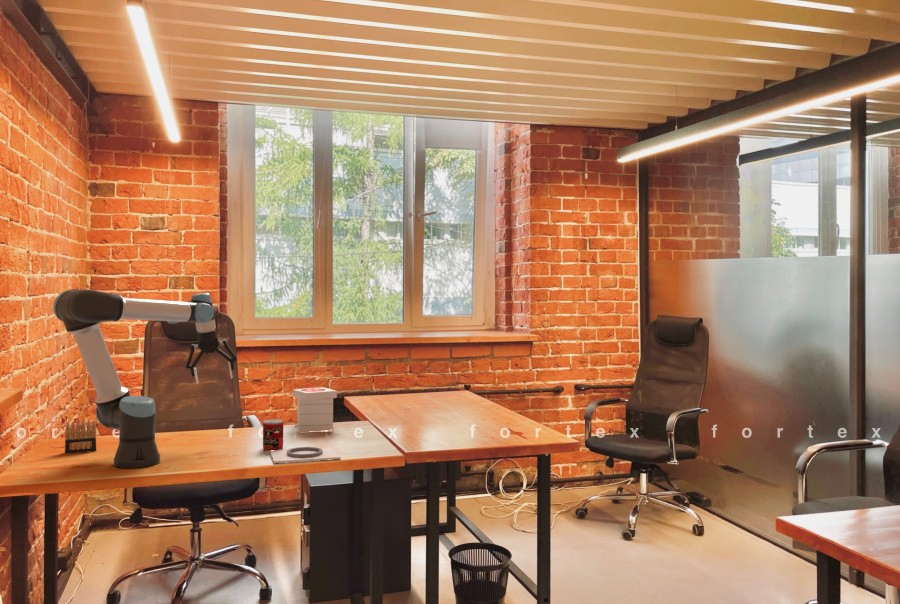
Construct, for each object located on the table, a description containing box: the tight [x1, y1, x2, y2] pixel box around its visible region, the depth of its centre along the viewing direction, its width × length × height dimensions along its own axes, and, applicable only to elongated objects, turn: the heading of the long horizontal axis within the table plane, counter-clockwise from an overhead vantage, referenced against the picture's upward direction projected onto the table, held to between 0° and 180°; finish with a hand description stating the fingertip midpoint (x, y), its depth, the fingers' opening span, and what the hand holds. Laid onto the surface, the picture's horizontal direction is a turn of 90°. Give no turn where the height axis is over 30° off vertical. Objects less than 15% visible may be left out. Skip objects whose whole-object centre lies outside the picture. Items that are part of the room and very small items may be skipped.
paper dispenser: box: [292, 387, 338, 433], centre depth 317 cm, size 19×30×18 cm, turn 14°
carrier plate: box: [269, 446, 342, 465], centre depth 258 cm, size 24×18×2 cm
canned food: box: [262, 418, 284, 451], centre depth 271 cm, size 8×8×11 cm
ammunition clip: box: [64, 419, 97, 454], centre depth 262 cm, size 11×2×12 cm, turn 118°
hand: (214, 380), depth 284 cm, fingers open, 13 cm apart
